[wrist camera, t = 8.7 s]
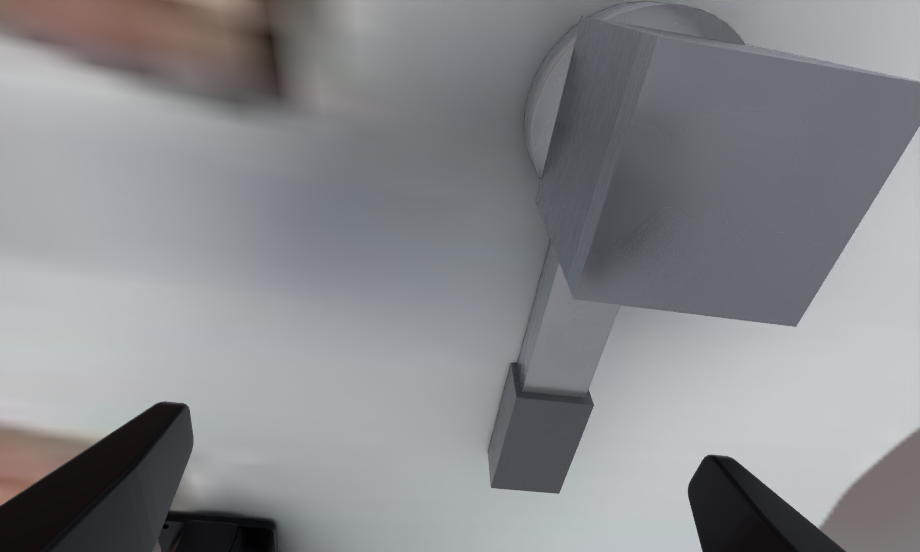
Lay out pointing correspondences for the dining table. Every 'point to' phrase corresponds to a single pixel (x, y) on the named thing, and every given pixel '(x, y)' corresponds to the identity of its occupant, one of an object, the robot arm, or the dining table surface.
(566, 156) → the gray block
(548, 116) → the gray handled tool
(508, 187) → the dining table surface
